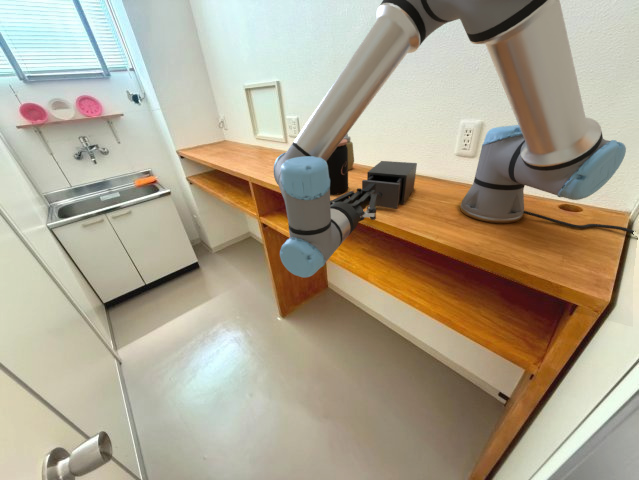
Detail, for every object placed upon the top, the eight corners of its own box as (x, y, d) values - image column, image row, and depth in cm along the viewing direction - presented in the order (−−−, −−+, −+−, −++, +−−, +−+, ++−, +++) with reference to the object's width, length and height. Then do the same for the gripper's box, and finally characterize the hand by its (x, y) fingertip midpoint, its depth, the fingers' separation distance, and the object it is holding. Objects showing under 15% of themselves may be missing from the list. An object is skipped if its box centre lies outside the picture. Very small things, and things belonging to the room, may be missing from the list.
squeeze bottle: (357, 167, 122) (357, 127, 113) (349, 172, 116) (349, 130, 107) (342, 166, 126) (341, 126, 117) (334, 170, 120) (332, 129, 111)
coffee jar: (346, 195, 92) (345, 143, 82) (318, 195, 94) (314, 144, 84) (349, 185, 100) (349, 137, 91) (323, 185, 103) (320, 138, 93)
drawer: (395, 210, 76) (398, 185, 72) (360, 205, 81) (360, 181, 77) (407, 193, 87) (410, 171, 83) (375, 190, 92) (376, 168, 88)
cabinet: (403, 204, 82) (406, 175, 77) (366, 199, 87) (367, 172, 82) (413, 189, 92) (417, 163, 87) (380, 185, 98) (381, 160, 93)
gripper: (310, 233, 59) (351, 197, 76) (364, 245, 53) (395, 203, 70) (308, 203, 55) (351, 172, 72) (364, 212, 49) (397, 176, 66)
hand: (372, 187), depth 71 cm, fingers closed
